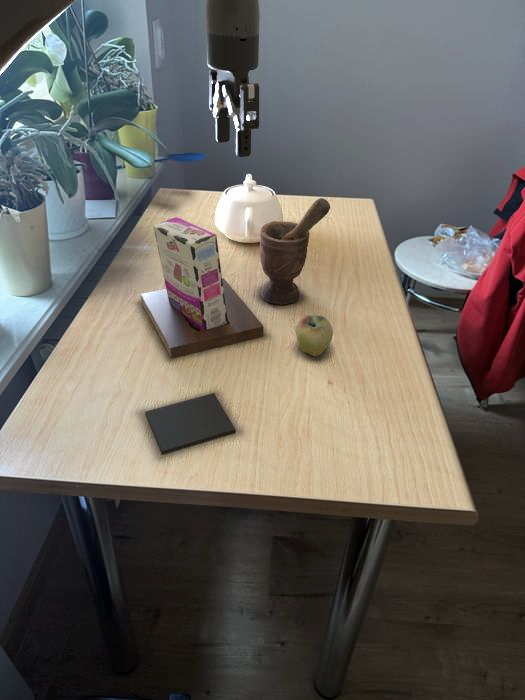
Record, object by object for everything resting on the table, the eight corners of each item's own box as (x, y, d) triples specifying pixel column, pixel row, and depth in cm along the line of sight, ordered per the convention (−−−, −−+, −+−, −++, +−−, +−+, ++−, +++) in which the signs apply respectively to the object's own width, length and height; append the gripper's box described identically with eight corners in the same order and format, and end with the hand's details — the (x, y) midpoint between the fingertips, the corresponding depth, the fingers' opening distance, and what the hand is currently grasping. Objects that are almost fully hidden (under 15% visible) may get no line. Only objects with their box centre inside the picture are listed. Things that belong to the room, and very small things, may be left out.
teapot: (285, 256, 113) (289, 200, 106) (213, 255, 113) (211, 199, 105) (279, 212, 134) (281, 163, 126) (217, 211, 133) (216, 161, 126)
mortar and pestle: (320, 288, 103) (331, 186, 91) (319, 311, 96) (331, 204, 84) (261, 283, 103) (264, 181, 92) (255, 306, 96) (258, 199, 85)
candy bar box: (230, 323, 89) (218, 233, 79) (206, 336, 87) (191, 245, 77) (192, 299, 96) (176, 214, 86) (169, 311, 94) (150, 224, 84)
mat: (162, 454, 67) (161, 451, 66) (145, 414, 72) (145, 411, 72) (235, 432, 70) (235, 429, 70) (214, 395, 76) (214, 392, 76)
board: (171, 358, 83) (170, 347, 82) (141, 303, 96) (140, 293, 95) (263, 336, 89) (263, 326, 88) (223, 287, 102) (223, 278, 101)
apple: (328, 334, 90) (332, 304, 86) (333, 362, 83) (337, 331, 80) (293, 333, 90) (295, 303, 86) (294, 361, 83) (297, 330, 80)
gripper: (191, 25, 79) (195, 139, 88) (226, 36, 68) (227, 163, 78) (237, 25, 81) (237, 135, 91) (278, 36, 71) (273, 159, 81)
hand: (232, 148), depth 84 cm, fingers open, 8 cm apart
